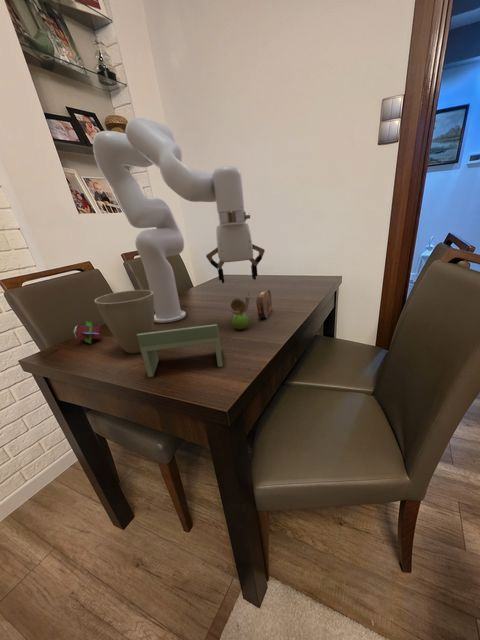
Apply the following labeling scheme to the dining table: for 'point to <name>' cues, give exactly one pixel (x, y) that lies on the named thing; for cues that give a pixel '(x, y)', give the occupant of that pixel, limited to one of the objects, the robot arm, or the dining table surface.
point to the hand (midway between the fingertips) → (238, 280)
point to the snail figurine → (240, 312)
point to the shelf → (176, 343)
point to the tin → (264, 304)
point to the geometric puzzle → (87, 332)
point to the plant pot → (128, 316)
